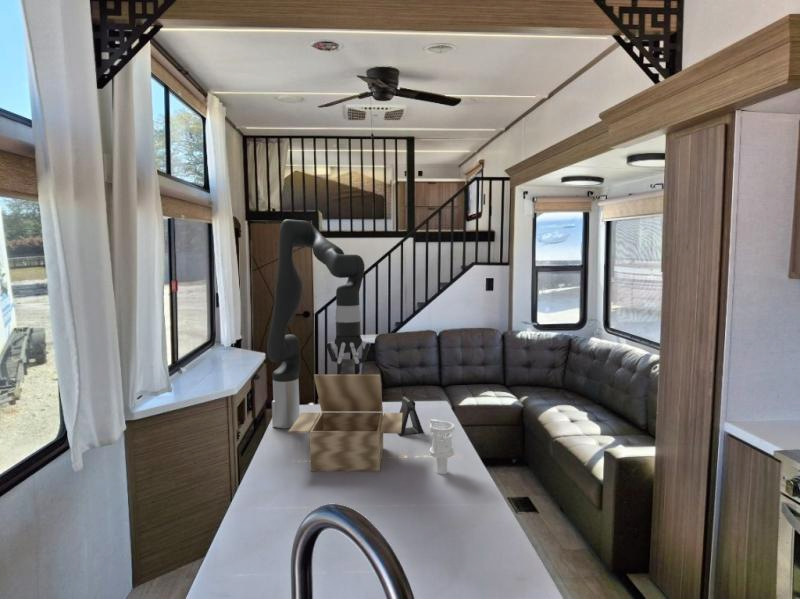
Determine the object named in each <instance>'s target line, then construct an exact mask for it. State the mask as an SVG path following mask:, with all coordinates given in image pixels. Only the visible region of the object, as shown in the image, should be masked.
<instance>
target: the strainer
mask: <svg viewBox="0 0 800 599" xmlns="http://www.w3.org/2000/svg"><path fill="white" fill-rule="evenodd" d="M438 426H444V427H445V428H437V427H438ZM429 431H430V432H431V433H432V441H431V442H432V444H431V447H430V448H429V455H430V456H431V457H433V458H435V459H436V473H437V474H438V473H439V474H438V475H446V474H448V459H449V458H452V457H454V456H455V449H454V448H453V447H452V444H453V443H452V442H453V440H452V439H453V438H452V436H453V435H452V433H453V432H454V431H455V424H454V423H453V422H449V421H445V420H444V421H442V420H439V419H435V418H431V419H430V423H429Z"/></svg>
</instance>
